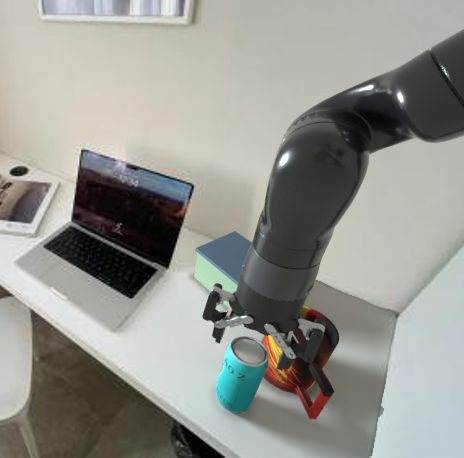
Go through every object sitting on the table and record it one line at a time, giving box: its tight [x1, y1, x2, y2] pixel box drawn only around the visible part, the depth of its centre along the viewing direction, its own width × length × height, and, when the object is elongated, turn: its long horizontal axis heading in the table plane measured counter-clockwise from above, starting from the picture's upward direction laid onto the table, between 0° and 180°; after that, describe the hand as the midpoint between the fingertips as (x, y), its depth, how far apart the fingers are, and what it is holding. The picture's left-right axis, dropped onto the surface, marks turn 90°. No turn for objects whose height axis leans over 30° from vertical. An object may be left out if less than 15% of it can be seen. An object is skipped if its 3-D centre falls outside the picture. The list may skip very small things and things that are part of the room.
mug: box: [260, 305, 340, 420], centre depth 61 cm, size 10×14×12 cm
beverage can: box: [215, 335, 269, 414], centre depth 58 cm, size 6×6×15 cm
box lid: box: [195, 230, 252, 285], centre depth 78 cm, size 14×12×1 cm
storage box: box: [193, 252, 238, 309], centre depth 80 cm, size 14×12×8 cm
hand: (248, 351), depth 54 cm, fingers open, 8 cm apart
